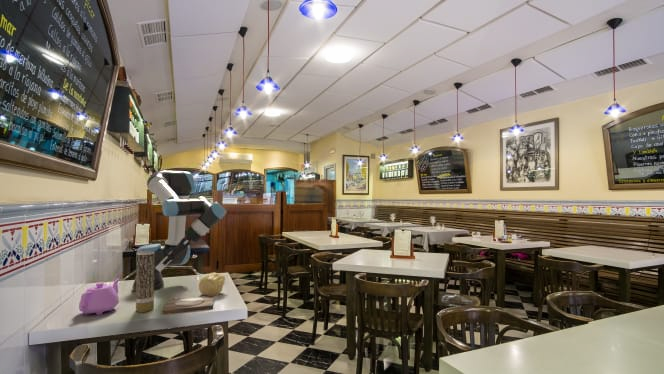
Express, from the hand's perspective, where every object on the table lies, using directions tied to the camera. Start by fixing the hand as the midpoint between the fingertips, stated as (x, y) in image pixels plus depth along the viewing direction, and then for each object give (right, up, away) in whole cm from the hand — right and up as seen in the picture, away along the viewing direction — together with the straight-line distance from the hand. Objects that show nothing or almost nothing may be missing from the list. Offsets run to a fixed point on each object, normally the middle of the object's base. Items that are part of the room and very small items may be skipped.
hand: (160, 267), depth 149 cm
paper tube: (-6, -19, -2) cm, 20 cm away
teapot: (-25, -19, -2) cm, 31 cm away
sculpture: (+14, -19, +23) cm, 33 cm away
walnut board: (+11, -18, +4) cm, 22 cm away
